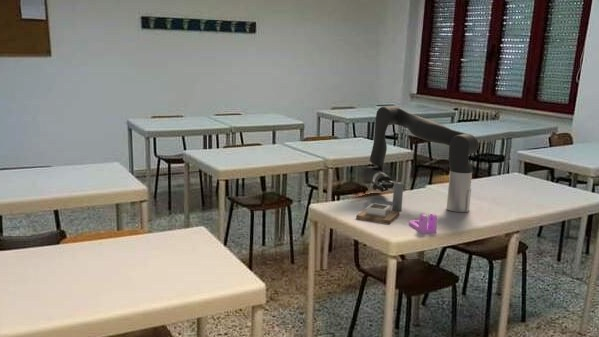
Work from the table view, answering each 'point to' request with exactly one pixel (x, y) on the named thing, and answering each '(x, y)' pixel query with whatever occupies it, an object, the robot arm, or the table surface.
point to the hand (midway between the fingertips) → (392, 189)
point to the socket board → (378, 213)
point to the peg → (397, 196)
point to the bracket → (425, 224)
